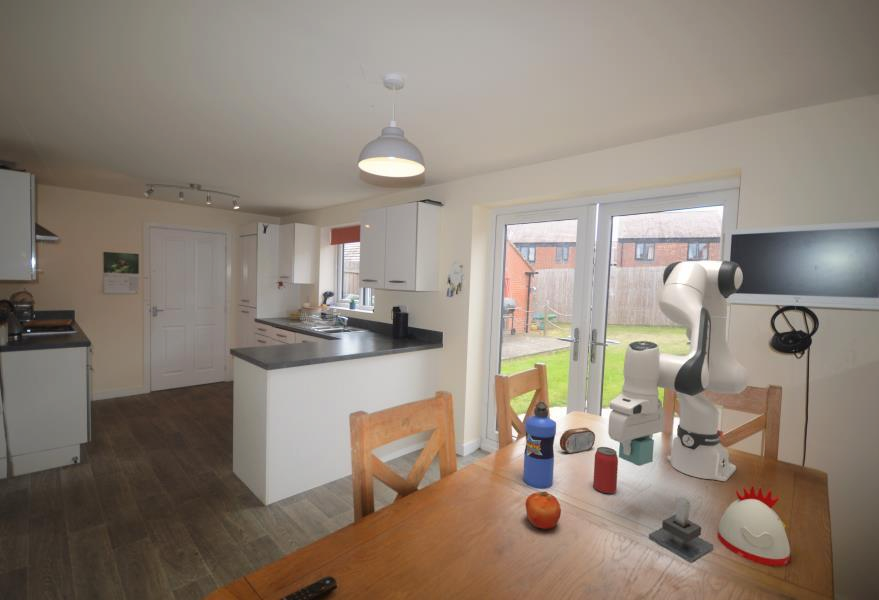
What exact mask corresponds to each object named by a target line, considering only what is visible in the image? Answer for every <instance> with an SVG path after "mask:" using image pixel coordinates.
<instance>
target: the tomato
mask: <svg viewBox="0 0 879 600" xmlns="http://www.w3.org/2000/svg"><path fill="white" fill-rule="evenodd" d="M525 509H526V511H525V512H526V516H527V519H528V520H529V521H530V523H531V524H532V525H533V526H534V527H536V528H538V529H539V528H540V529H542V530H547V529H548V530H549V529H551V528H554V527H556V525H557V523H558V522H559V520H560V518H561V515H562V507H561V505H560V502H559V501H558V498H557V497H555V496H554V495H553V494H551V493H549V492H548V491H546V490H545V491H539V492H534V493H531V494H530V495H528V496H527V498H526V500H525Z"/></svg>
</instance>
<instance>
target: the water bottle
mask: <svg viewBox="0 0 879 600" xmlns="http://www.w3.org/2000/svg"><path fill="white" fill-rule="evenodd" d="M534 406H535V407H534V410H533V411H534V413H533V414H534V415H533V416H529V417H526V418H525V423H524V432H525V448H524V454H523V455H524V456H523V457H524V458H523V474H522V481H523V482H524V484H525V485H527V486H529V487H531V488H535V489H540V490H541V489H549V488H551V487H552V486H553V484H554V468H555V467H554V466H555V453H554V443H555V438H556V434H557V422H556V421H555V420H553V419H552V418H550V417H549V409H548V407H549V406H548V405H547V403H545V402H544V401H539V402H537V403H536V404H535V405H534Z"/></svg>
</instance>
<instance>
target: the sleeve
mask: <svg viewBox="0 0 879 600" xmlns="http://www.w3.org/2000/svg"><path fill="white" fill-rule="evenodd" d="M654 444H655V439H653V438H652V439H650V438H648V437H645V436H644V437H640V438H636V439H633V440H631V443H630V447H631V448H633V454H632V455H625V454H624V453H623V448H624V447H623V445H622V443H621V442H619V449H618V458H620V459H622V460H624V461H626V462H629V463H631V464H633V465H635V466H638V467H641V466H643V465H646V464H649V463H653V462H654V461H653V459H654V446H655V445H654Z"/></svg>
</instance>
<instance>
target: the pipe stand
mask: <svg viewBox="0 0 879 600" xmlns="http://www.w3.org/2000/svg"><path fill="white" fill-rule="evenodd" d="M690 503H691V500H690V499H688V498H686V497H683V496H679V497H677V498H676V505H675V507H676V508H675V514H676V520H675V524H677V525H679V526H681V527H683V528H684V529H685V528H687V527H688V521H690V505H691V504H690ZM648 538H649V540H651V541H653V542H655V543H657V544H658V545H659V546H661V547H664V548H665V549H666V550H668V551H670V552H672V553H673V554H674V555H677V556H679V557H681V558H682V559H683V560H686V561H687V562H689V563H692V562H695V561H696V560H697V559H700V558H701V557H702V556H704V555H706V554H707V553H709V552H711V551H712V550H713V549H714V544H712V543H711V542H709V541H707V540H705V539H703V538H701V537H699V536H698V537H696V538H694V539H692V540H691V541H689V542H686V541H684V540H682V539H680V538H679V537H677V536H675V535H673V534H671V533H669V532H668V531H666V530H664V529H662V527H661V528H658V529H657V530H654V531H652V532H651V533H649V534H648Z"/></svg>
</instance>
